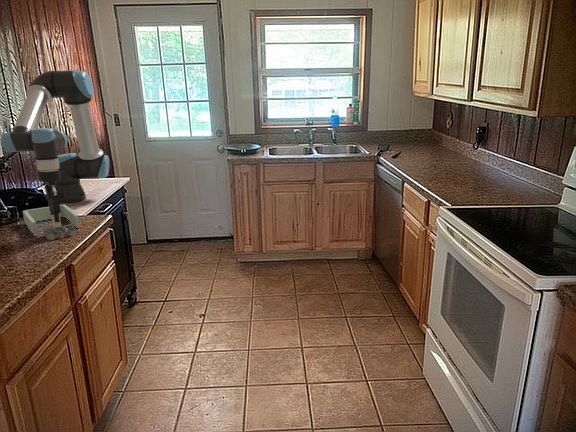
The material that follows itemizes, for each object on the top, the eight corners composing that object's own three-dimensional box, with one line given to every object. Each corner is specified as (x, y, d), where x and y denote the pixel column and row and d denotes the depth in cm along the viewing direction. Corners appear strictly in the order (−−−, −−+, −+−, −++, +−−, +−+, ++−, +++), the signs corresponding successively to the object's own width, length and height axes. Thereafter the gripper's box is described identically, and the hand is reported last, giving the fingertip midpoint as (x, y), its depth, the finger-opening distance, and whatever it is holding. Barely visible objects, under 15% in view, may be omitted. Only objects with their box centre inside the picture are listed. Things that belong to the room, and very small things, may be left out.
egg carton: (47, 241, 167) (45, 231, 166) (44, 236, 173) (42, 226, 172) (77, 236, 173) (76, 226, 172) (73, 231, 179) (72, 221, 178)
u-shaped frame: (24, 223, 189) (22, 210, 188) (66, 216, 199) (64, 204, 198) (34, 236, 172) (32, 222, 171) (79, 228, 182) (78, 215, 180)
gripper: (34, 168, 172) (43, 227, 179) (40, 173, 162) (50, 235, 169) (55, 166, 177) (64, 223, 183) (63, 171, 167) (72, 231, 173)
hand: (57, 229), depth 176 cm, fingers closed
